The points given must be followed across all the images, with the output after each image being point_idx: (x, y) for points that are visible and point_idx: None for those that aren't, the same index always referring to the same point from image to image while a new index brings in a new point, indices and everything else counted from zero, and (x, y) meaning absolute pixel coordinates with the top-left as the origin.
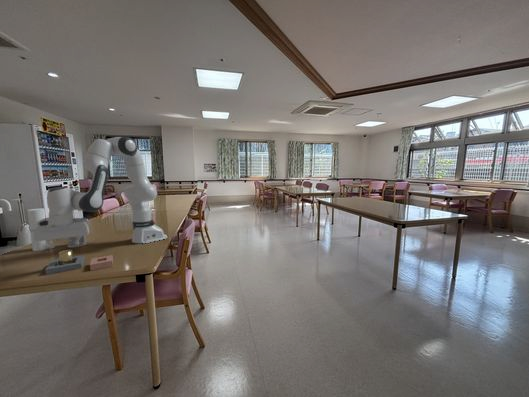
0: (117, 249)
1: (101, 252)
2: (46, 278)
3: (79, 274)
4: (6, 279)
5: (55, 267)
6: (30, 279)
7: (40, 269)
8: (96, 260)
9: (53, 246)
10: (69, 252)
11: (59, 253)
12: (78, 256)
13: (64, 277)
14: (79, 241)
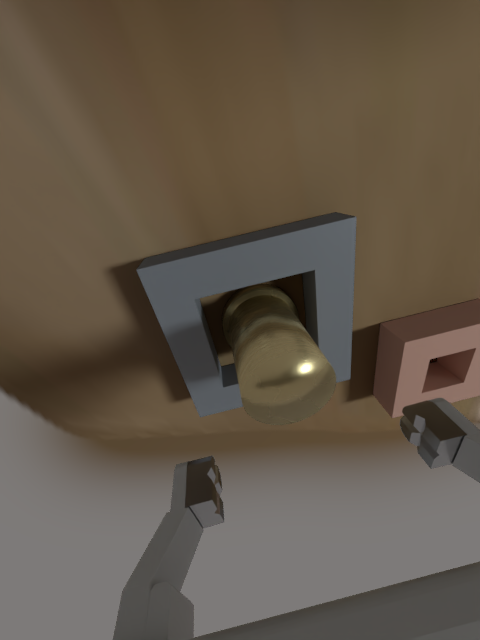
0: None
1: (468, 17)
2: (224, 425)
3: (336, 416)
4: (32, 405)
5: (238, 402)
6: (160, 422)
7: (116, 321)
8: (423, 376)
9: (216, 488)
10: (320, 402)
11: (255, 418)
12: (317, 242)
13: (289, 428)
14: None
